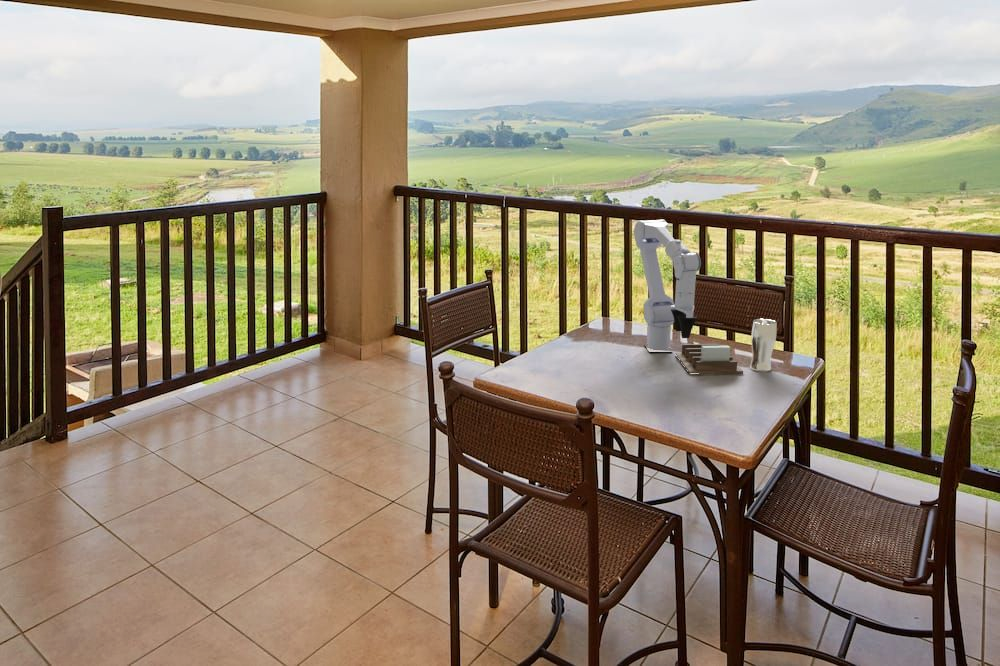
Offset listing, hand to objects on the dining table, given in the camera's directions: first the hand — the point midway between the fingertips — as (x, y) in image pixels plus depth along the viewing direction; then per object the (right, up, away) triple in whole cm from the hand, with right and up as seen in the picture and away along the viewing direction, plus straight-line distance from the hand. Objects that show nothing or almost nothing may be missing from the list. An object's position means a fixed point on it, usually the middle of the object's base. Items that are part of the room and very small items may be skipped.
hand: (682, 334), depth 203 cm
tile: (+8, -10, -6) cm, 14 cm away
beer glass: (+23, -11, -4) cm, 26 cm away
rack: (+8, -9, 0) cm, 13 cm away
